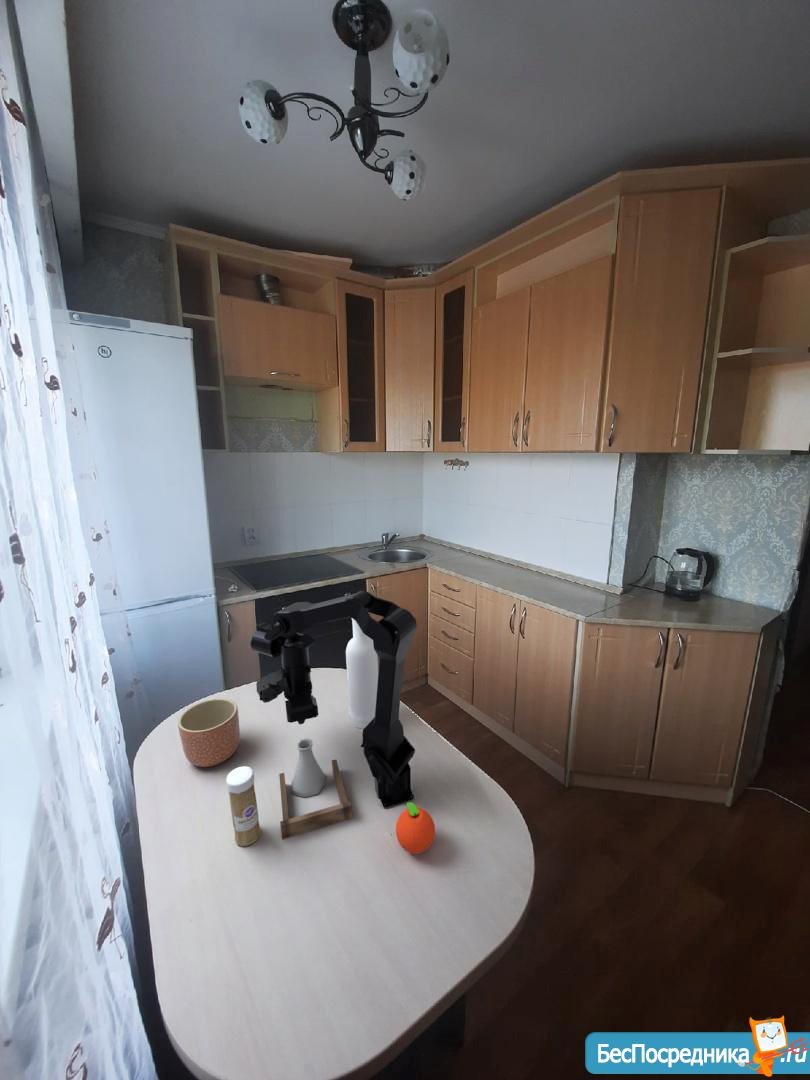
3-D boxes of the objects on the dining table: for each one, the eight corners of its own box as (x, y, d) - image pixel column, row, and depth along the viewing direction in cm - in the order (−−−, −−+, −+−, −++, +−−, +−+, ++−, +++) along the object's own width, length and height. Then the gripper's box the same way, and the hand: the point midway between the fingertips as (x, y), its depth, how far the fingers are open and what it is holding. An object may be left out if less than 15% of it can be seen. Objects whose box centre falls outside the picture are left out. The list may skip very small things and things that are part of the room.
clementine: (389, 831, 80) (387, 799, 78) (423, 818, 82) (423, 787, 81) (404, 870, 73) (403, 836, 71) (441, 855, 75) (441, 822, 73)
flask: (329, 771, 94) (326, 732, 92) (321, 798, 87) (318, 756, 85) (296, 771, 95) (292, 731, 92) (286, 798, 88) (281, 756, 85)
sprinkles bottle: (246, 851, 77) (237, 788, 73) (229, 840, 79) (220, 778, 76) (266, 831, 80) (258, 770, 77) (249, 821, 83) (241, 761, 79)
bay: (339, 770, 95) (338, 758, 94) (352, 818, 83) (351, 805, 82) (278, 786, 91) (276, 774, 90) (282, 839, 79) (280, 826, 78)
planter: (243, 765, 97) (237, 722, 94) (182, 782, 93) (174, 738, 90) (242, 731, 108) (237, 692, 106) (187, 745, 104) (180, 705, 101)
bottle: (348, 730, 108) (340, 618, 100) (351, 710, 115) (344, 605, 108) (380, 728, 108) (375, 617, 101) (381, 709, 115) (376, 604, 108)
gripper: (256, 647, 100) (262, 707, 103) (257, 692, 83) (265, 761, 86) (305, 639, 103) (309, 697, 107) (316, 680, 86) (321, 747, 90)
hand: (301, 723), depth 97 cm, fingers closed
